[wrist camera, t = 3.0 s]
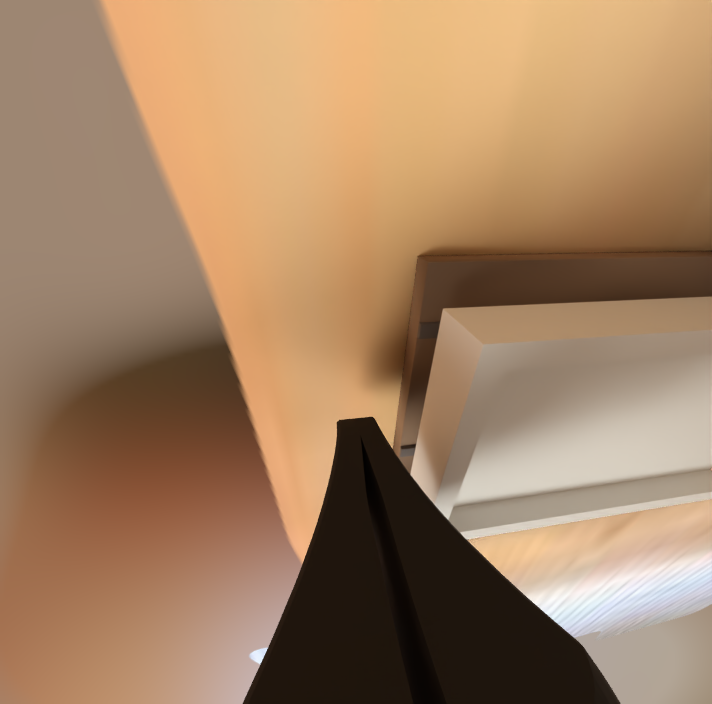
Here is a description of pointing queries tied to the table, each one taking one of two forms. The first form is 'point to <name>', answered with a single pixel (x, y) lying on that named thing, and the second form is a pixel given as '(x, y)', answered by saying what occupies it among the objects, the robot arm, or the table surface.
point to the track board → (528, 300)
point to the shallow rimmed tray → (567, 412)
